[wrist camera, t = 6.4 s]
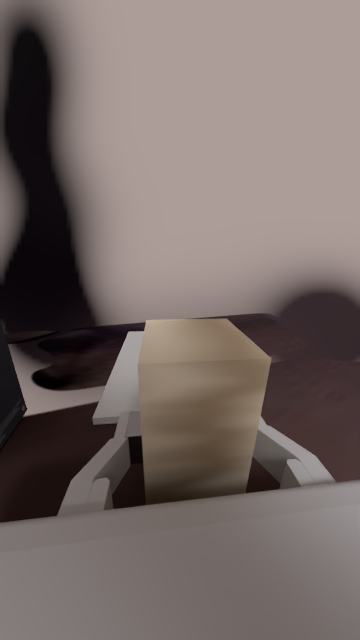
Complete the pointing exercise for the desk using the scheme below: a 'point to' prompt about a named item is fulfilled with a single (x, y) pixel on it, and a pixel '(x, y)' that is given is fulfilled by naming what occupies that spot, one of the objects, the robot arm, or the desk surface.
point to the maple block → (198, 408)
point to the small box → (9, 392)
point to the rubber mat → (121, 383)
